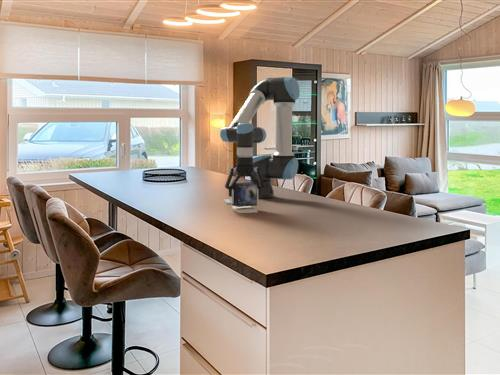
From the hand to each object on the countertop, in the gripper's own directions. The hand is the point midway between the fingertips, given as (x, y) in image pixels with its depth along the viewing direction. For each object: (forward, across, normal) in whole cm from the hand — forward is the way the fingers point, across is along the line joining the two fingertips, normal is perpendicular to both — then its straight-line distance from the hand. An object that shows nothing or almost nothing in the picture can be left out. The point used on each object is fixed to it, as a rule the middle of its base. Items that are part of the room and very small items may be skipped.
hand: (244, 203), depth 224 cm
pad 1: (+3, 0, -23) cm, 23 cm away
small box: (+1, 0, 0) cm, 1 cm away
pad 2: (+3, 0, 0) cm, 3 cm away
